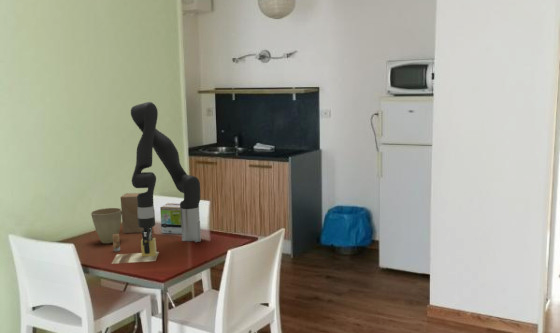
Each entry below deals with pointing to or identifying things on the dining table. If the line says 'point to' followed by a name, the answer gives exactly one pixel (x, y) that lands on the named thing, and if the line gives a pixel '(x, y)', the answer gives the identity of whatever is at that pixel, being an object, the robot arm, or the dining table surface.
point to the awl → (116, 242)
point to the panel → (133, 258)
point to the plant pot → (107, 223)
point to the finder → (151, 246)
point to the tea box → (171, 218)
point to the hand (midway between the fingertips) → (148, 251)
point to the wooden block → (130, 213)
